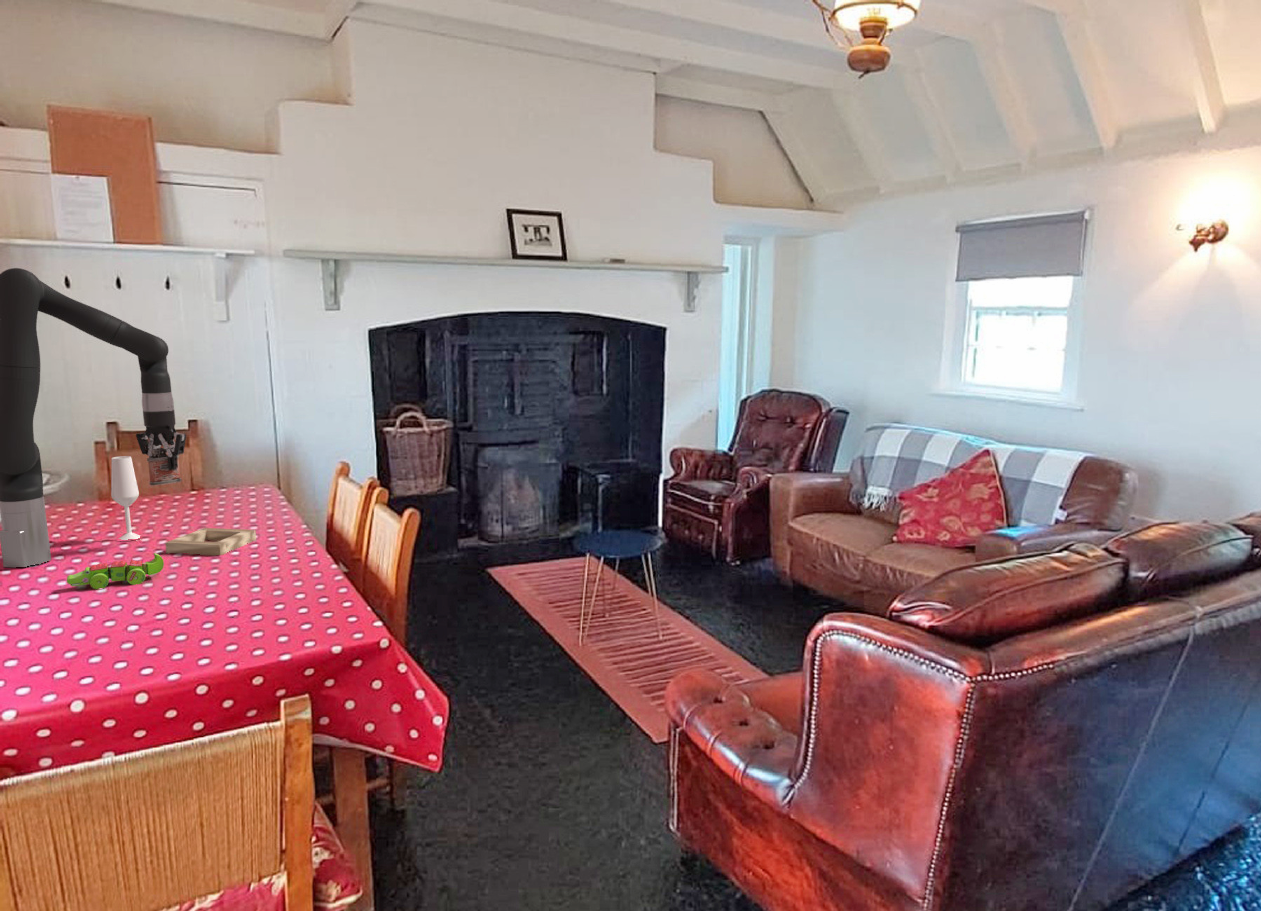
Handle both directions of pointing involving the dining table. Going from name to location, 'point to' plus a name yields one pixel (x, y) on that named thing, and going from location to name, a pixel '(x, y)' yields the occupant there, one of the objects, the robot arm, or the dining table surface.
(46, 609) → the dining table surface
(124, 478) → the champagne flute
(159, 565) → the toy crocodile
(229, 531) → the square beige frame
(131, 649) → the dining table surface
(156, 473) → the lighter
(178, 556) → the dining table surface
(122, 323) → the robot arm
